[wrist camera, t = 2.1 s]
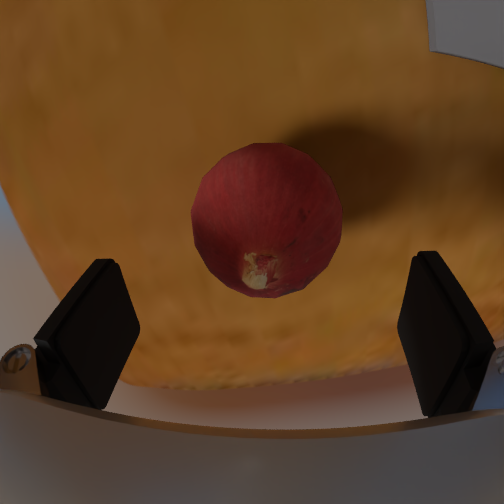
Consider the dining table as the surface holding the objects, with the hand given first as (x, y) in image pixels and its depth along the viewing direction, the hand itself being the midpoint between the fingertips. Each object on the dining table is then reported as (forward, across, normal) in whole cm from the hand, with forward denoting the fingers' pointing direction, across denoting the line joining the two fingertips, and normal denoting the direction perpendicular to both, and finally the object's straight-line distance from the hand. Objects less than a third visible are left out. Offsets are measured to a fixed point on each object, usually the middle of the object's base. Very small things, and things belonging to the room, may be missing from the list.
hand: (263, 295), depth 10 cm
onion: (+8, 0, -1) cm, 8 cm away
